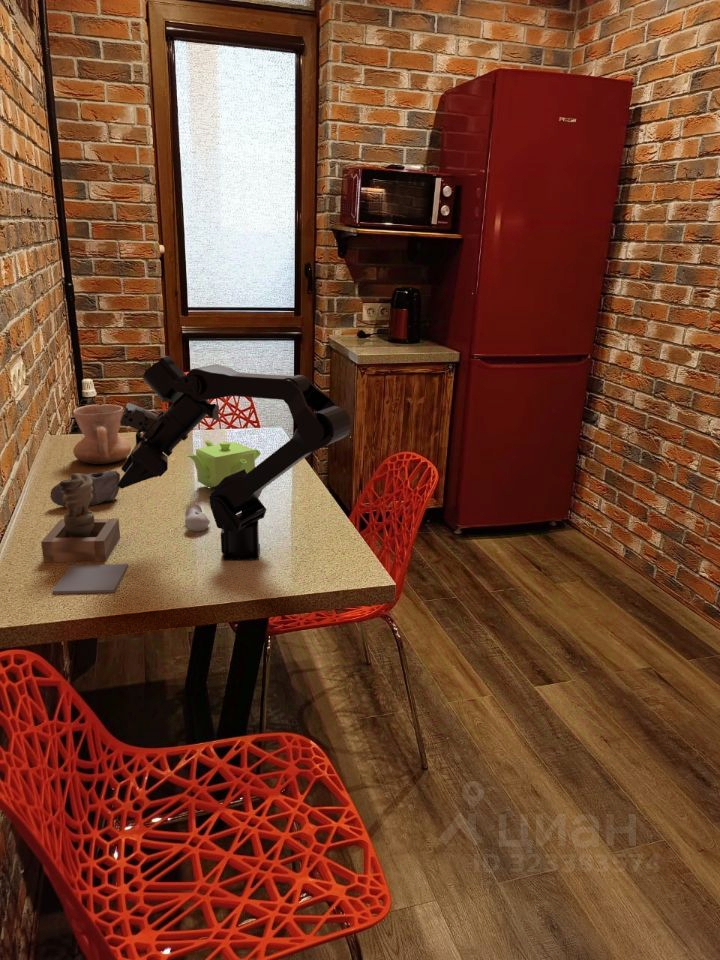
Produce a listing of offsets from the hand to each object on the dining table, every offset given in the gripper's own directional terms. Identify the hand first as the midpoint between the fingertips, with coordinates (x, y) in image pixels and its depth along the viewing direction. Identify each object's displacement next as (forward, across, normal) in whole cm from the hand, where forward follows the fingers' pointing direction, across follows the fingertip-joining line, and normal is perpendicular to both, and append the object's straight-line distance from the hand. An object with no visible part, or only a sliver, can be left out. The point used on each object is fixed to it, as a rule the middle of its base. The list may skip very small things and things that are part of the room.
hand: (121, 478), depth 129 cm
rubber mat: (+13, +13, +6) cm, 20 cm away
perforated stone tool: (+17, -26, +3) cm, 31 cm away
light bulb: (+16, 0, +5) cm, 16 cm away
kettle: (-4, -32, +24) cm, 41 cm away
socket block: (+15, 0, +4) cm, 16 cm away
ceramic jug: (+18, -59, +4) cm, 62 cm away
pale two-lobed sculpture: (0, -8, +20) cm, 21 cm away
